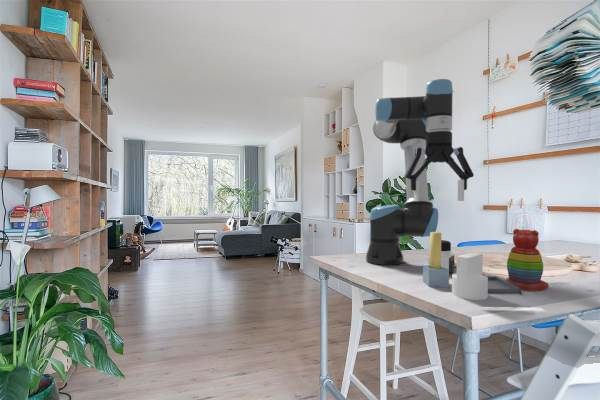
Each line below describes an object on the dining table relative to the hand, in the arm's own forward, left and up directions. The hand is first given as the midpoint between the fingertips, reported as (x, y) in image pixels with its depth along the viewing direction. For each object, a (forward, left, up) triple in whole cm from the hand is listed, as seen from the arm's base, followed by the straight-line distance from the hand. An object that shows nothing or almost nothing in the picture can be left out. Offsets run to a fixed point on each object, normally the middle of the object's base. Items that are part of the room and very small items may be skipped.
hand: (438, 201), depth 107 cm
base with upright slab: (+11, +5, -27) cm, 29 cm away
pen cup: (0, -1, -27) cm, 27 cm away
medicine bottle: (-15, +6, -27) cm, 31 cm away
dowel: (0, -1, -26) cm, 26 cm away
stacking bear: (0, +26, -27) cm, 38 cm away
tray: (+2, +15, -27) cm, 31 cm away
